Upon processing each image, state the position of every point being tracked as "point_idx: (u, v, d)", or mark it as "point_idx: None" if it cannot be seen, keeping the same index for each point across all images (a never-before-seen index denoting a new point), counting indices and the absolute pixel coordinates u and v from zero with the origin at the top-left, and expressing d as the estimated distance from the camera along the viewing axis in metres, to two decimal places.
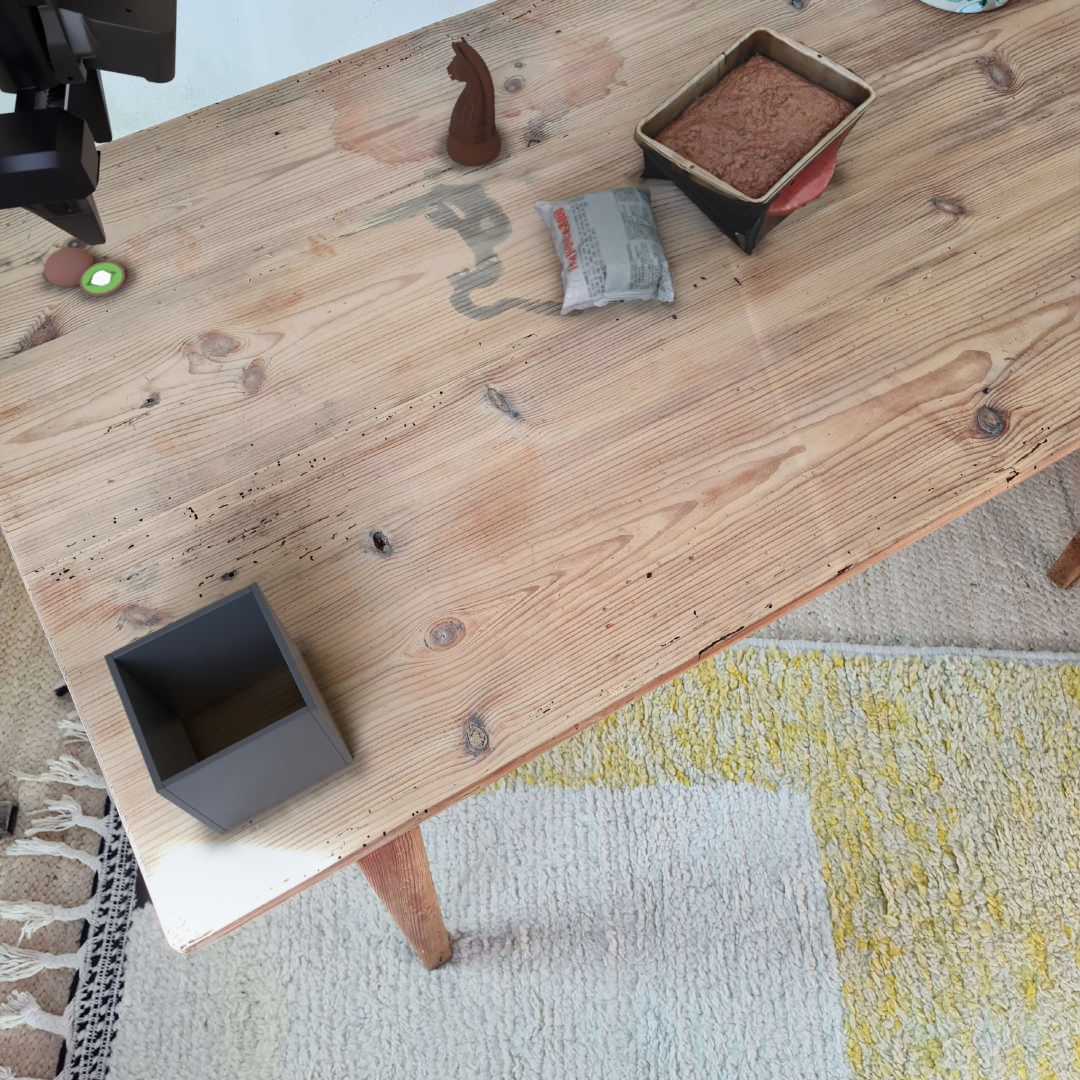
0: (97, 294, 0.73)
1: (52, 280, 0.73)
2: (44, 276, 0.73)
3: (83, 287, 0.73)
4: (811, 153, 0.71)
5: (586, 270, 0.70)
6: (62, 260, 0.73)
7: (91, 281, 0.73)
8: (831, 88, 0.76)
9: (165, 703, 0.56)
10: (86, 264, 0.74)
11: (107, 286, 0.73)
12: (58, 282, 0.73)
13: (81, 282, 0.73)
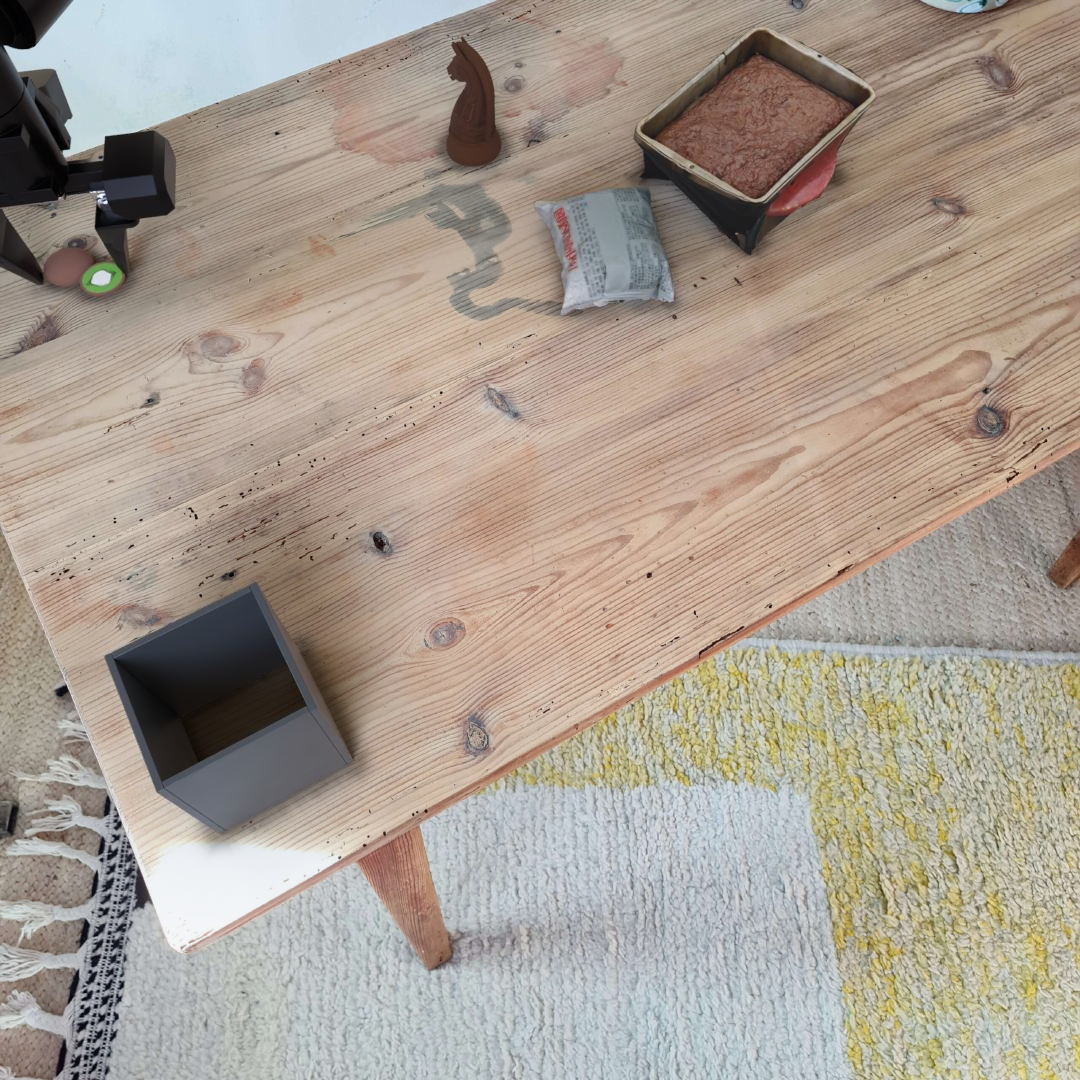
0: (97, 294, 0.73)
1: (52, 280, 0.73)
2: (44, 276, 0.73)
3: (83, 287, 0.73)
4: (811, 153, 0.71)
5: (586, 270, 0.70)
6: (62, 260, 0.73)
7: (91, 281, 0.73)
8: (831, 88, 0.76)
9: (165, 703, 0.56)
10: (86, 264, 0.74)
11: (107, 286, 0.73)
12: (58, 282, 0.73)
13: (81, 282, 0.73)
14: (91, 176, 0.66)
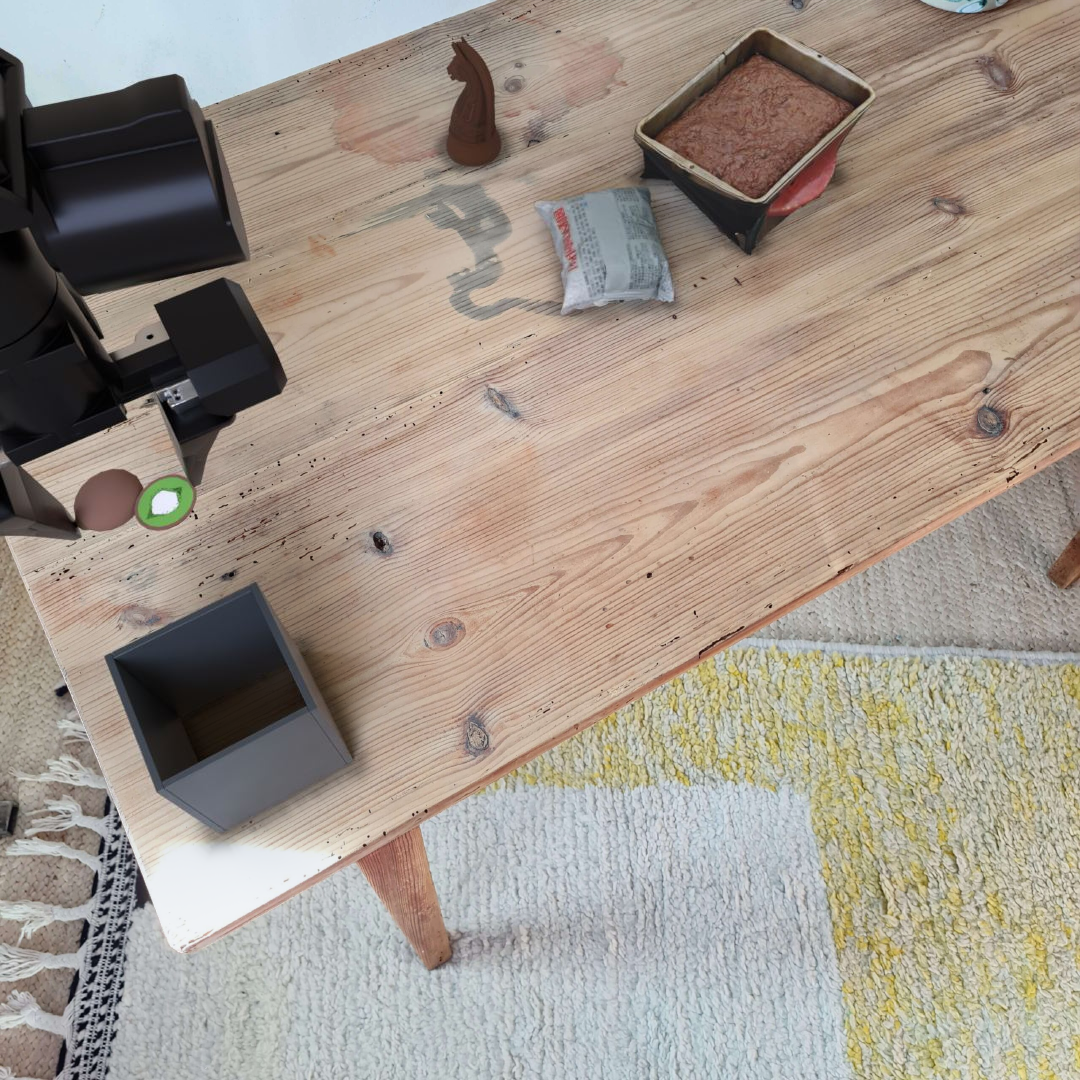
0: (168, 527, 0.50)
1: (94, 527, 0.50)
2: (80, 524, 0.50)
3: (144, 523, 0.50)
4: (811, 153, 0.71)
5: (586, 270, 0.70)
6: (102, 495, 0.49)
7: (152, 511, 0.50)
8: (831, 88, 0.76)
9: (165, 703, 0.56)
10: (136, 489, 0.50)
11: (177, 511, 0.50)
12: (103, 527, 0.50)
13: (138, 517, 0.50)
14: (155, 369, 0.43)
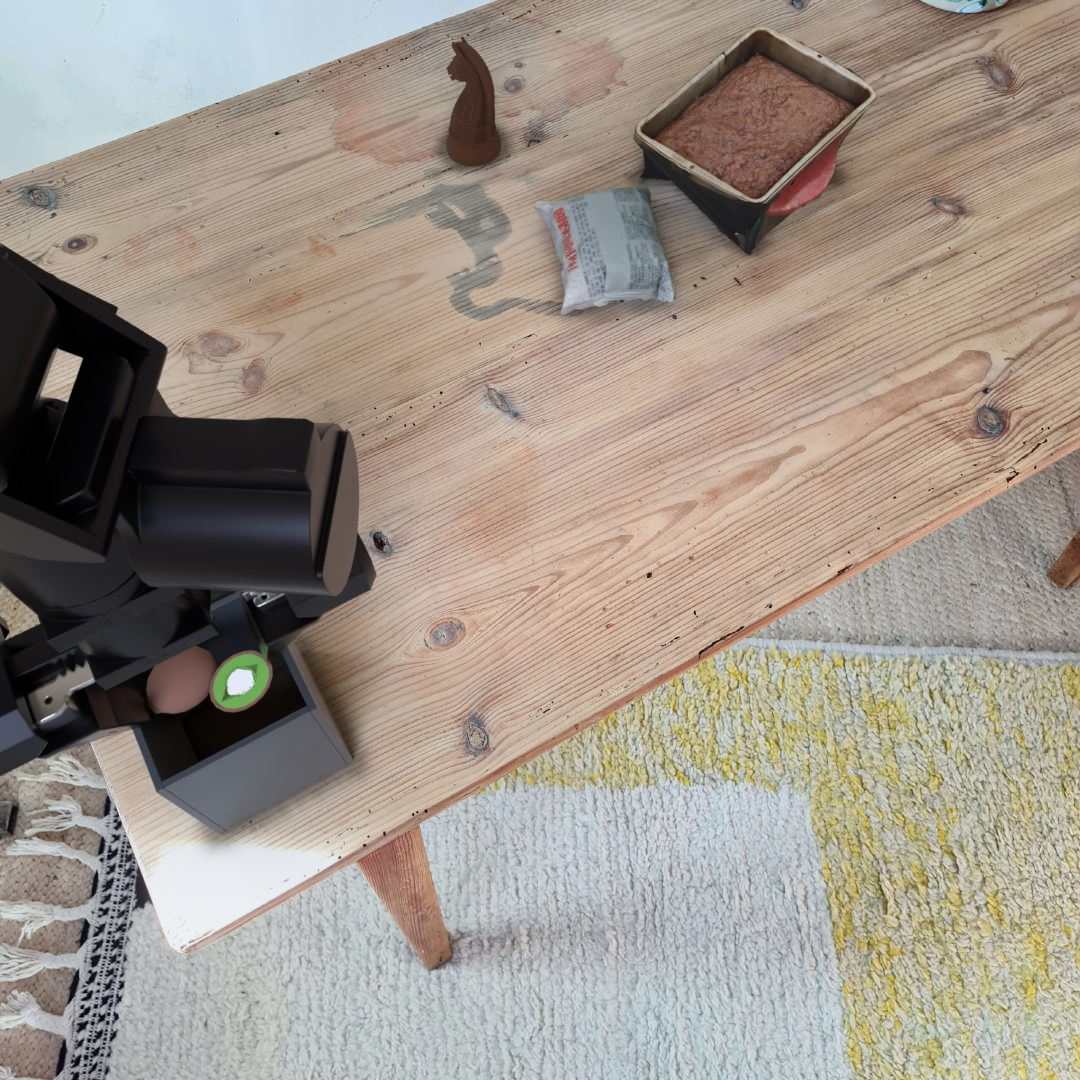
0: (244, 708, 0.48)
1: (169, 711, 0.48)
2: (154, 708, 0.48)
3: (220, 705, 0.48)
4: (811, 153, 0.71)
5: (586, 270, 0.70)
6: (178, 679, 0.47)
7: (228, 692, 0.48)
8: (831, 88, 0.76)
9: None
10: (210, 669, 0.49)
11: (253, 690, 0.49)
12: (178, 710, 0.48)
13: (213, 699, 0.48)
14: None
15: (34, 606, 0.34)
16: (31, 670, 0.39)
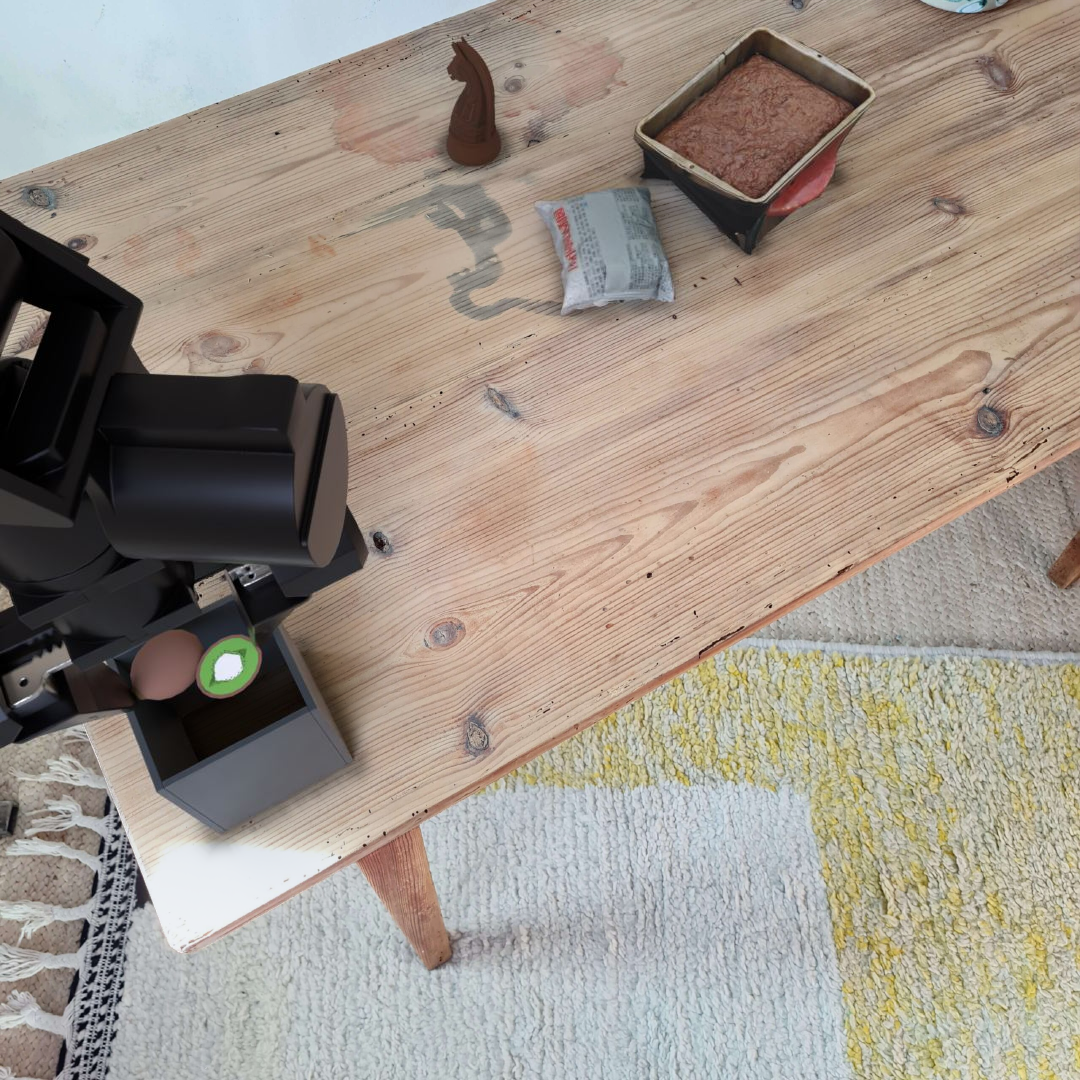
0: (232, 694, 0.46)
1: (154, 696, 0.46)
2: (138, 694, 0.46)
3: (207, 690, 0.46)
4: (811, 153, 0.71)
5: (586, 270, 0.70)
6: (162, 664, 0.46)
7: (215, 677, 0.47)
8: (831, 88, 0.76)
9: (165, 703, 0.56)
10: (197, 653, 0.47)
11: (242, 676, 0.47)
12: (163, 696, 0.46)
13: (200, 685, 0.46)
14: None
15: (4, 580, 0.32)
16: (5, 651, 0.37)
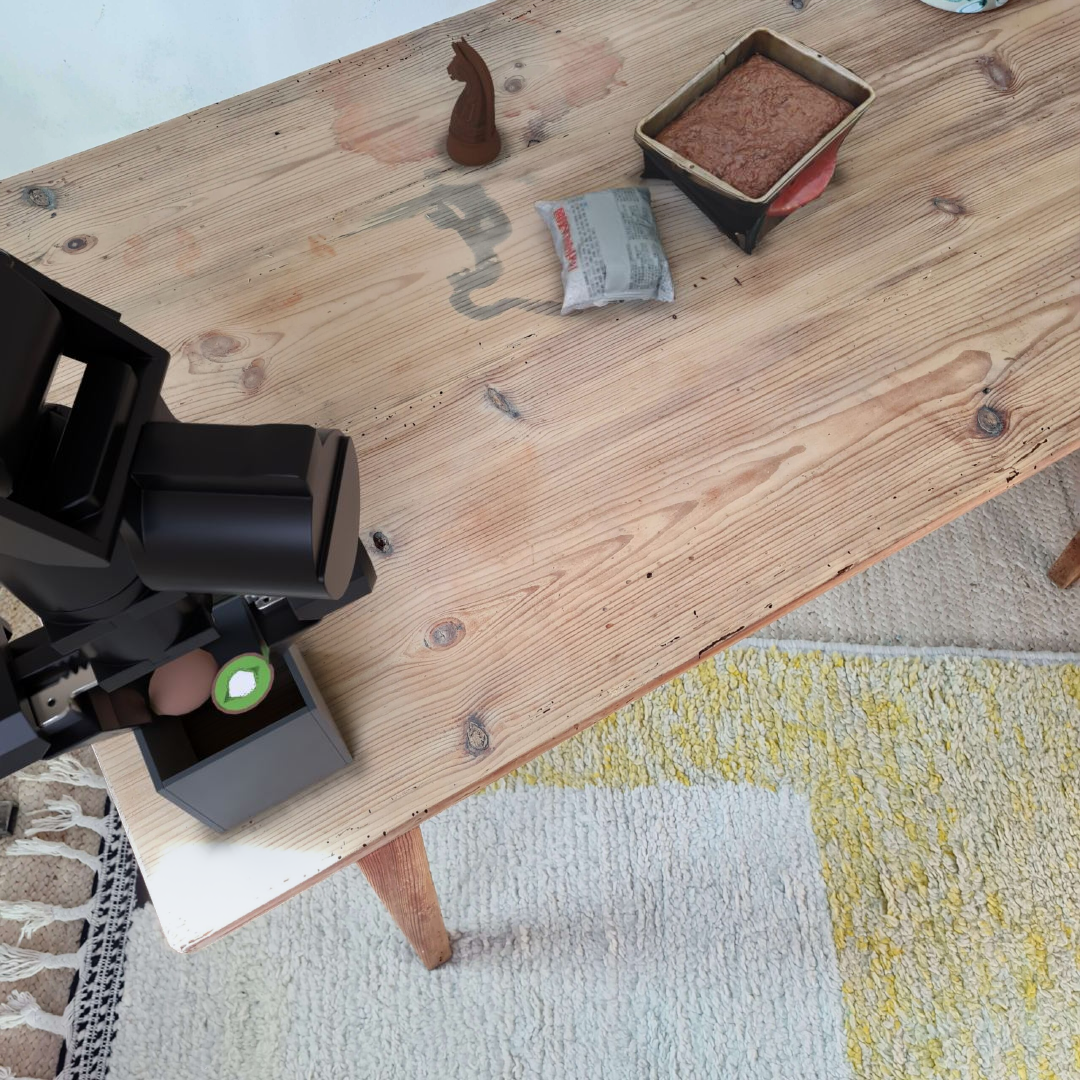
0: (246, 710, 0.49)
1: (171, 712, 0.48)
2: (156, 710, 0.48)
3: (222, 706, 0.48)
4: (811, 153, 0.71)
5: (586, 270, 0.70)
6: (180, 681, 0.48)
7: (230, 694, 0.49)
8: (831, 88, 0.76)
9: None
10: (212, 671, 0.49)
11: (255, 692, 0.49)
12: (180, 712, 0.48)
13: (215, 701, 0.48)
14: None
15: (38, 610, 0.34)
16: (34, 673, 0.40)
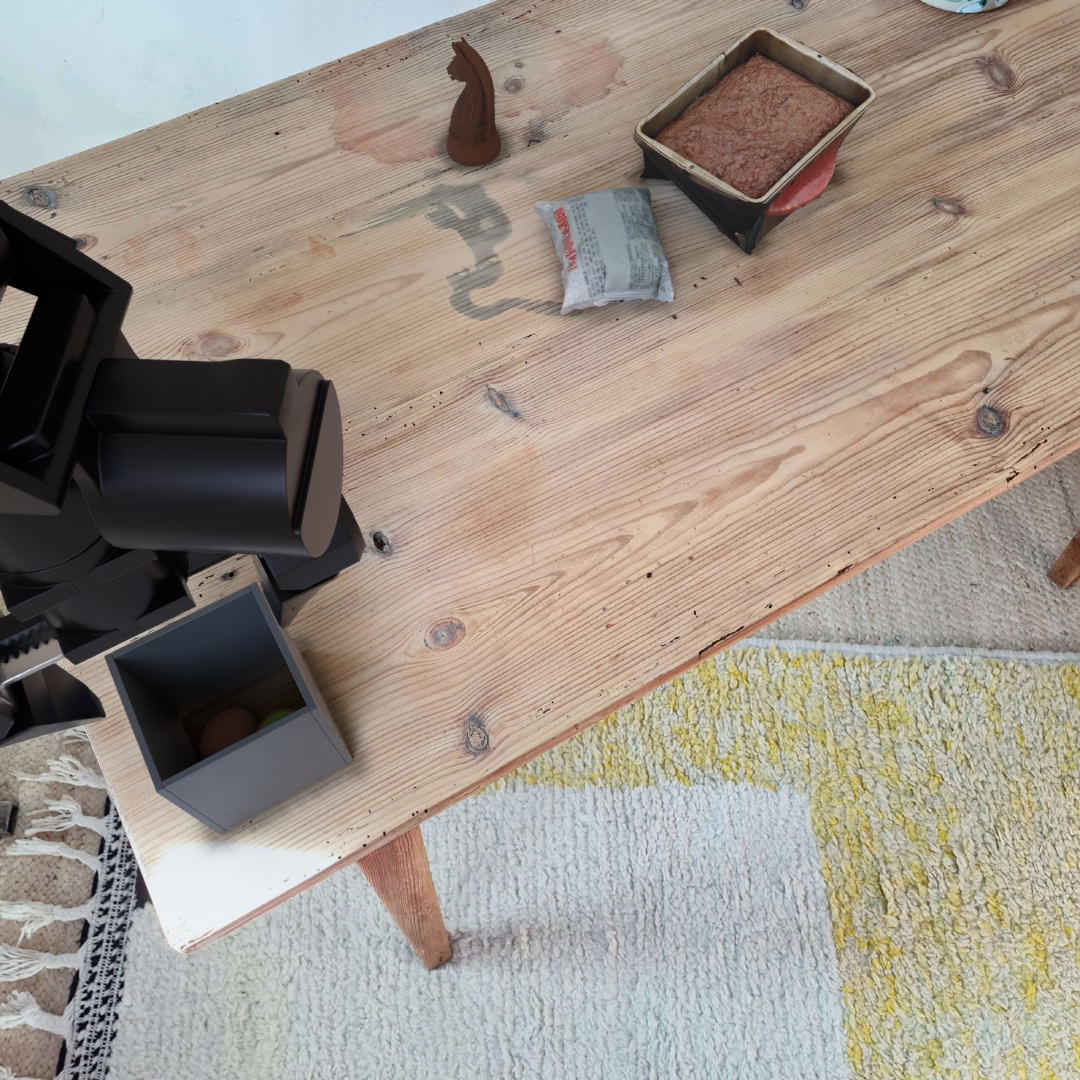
0: None
1: None
2: None
3: None
4: (811, 153, 0.71)
5: (586, 270, 0.70)
6: (226, 738, 0.55)
7: None
8: (831, 88, 0.76)
9: (165, 703, 0.56)
10: (253, 727, 0.56)
11: None
12: None
13: None
14: None
15: None
16: None
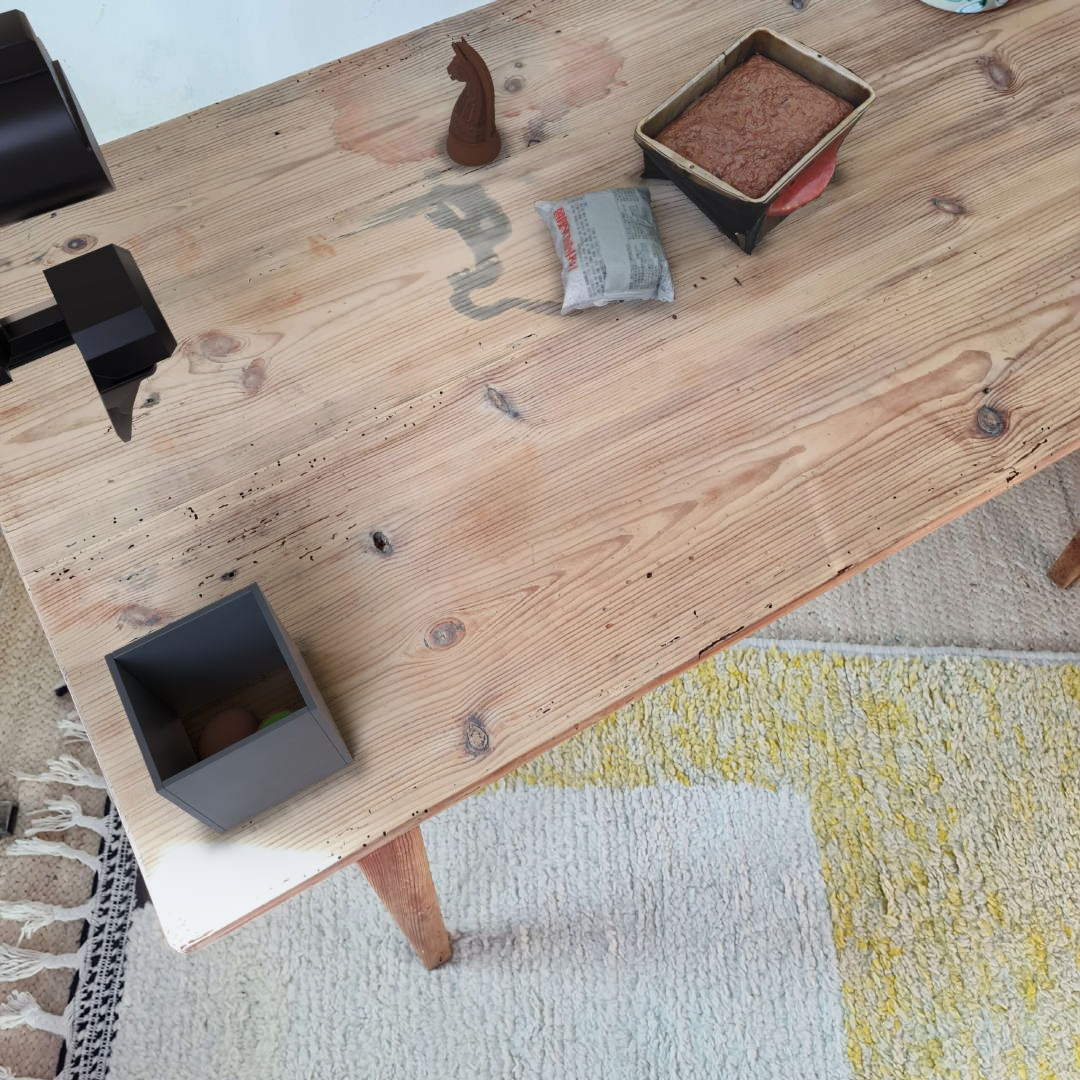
0: None
1: None
2: None
3: None
4: (811, 153, 0.71)
5: (586, 270, 0.70)
6: (226, 738, 0.55)
7: None
8: (831, 88, 0.76)
9: (165, 703, 0.56)
10: (253, 727, 0.56)
11: None
12: None
13: None
14: (44, 333, 0.44)
15: None
16: None
